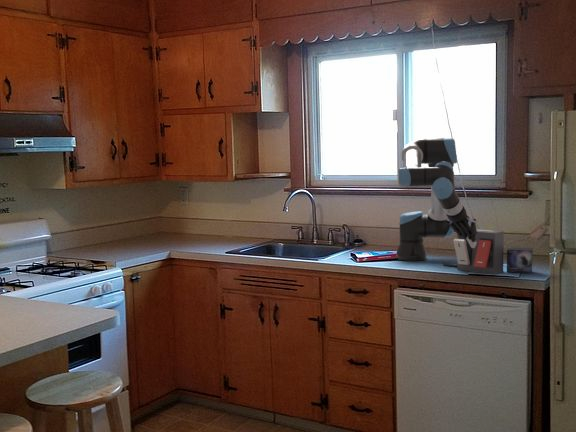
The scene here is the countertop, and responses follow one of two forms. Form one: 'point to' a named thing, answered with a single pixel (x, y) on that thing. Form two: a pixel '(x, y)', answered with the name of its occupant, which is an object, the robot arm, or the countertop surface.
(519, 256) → the small box
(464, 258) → the rocker ivory
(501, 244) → the power unit
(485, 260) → the rocker red
